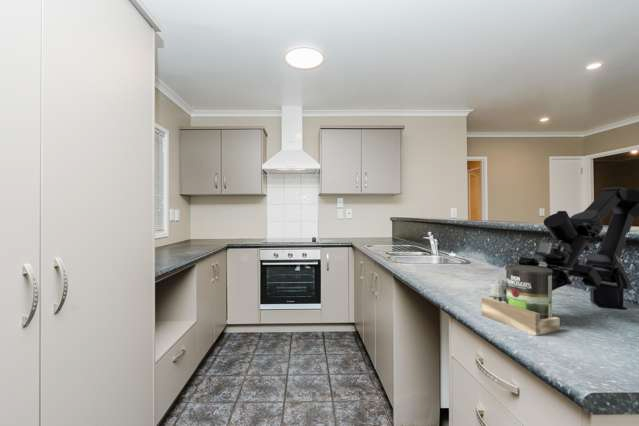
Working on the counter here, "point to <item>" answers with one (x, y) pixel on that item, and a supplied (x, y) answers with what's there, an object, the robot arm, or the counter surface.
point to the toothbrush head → (498, 290)
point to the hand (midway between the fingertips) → (541, 293)
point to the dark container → (530, 288)
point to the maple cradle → (518, 317)
